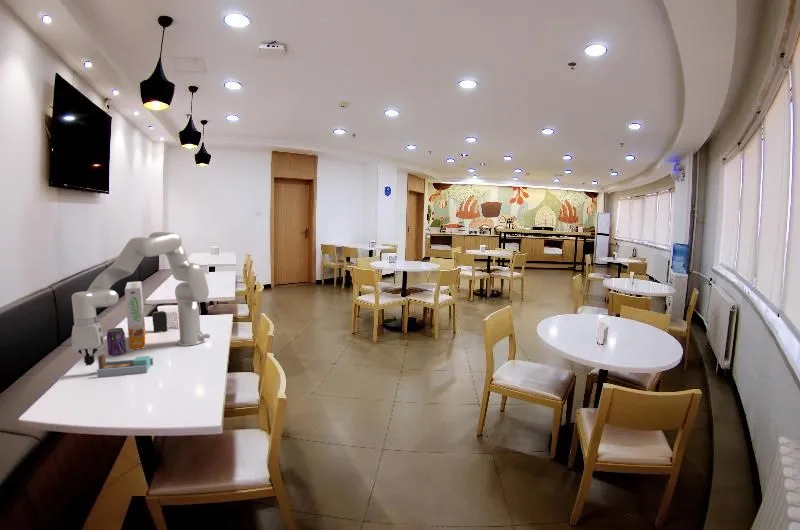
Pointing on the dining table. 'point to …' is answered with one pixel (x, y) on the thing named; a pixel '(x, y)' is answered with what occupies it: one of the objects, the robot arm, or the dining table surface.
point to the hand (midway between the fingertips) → (89, 364)
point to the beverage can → (116, 341)
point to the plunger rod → (103, 365)
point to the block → (142, 361)
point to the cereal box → (135, 314)
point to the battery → (159, 321)
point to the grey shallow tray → (122, 368)
